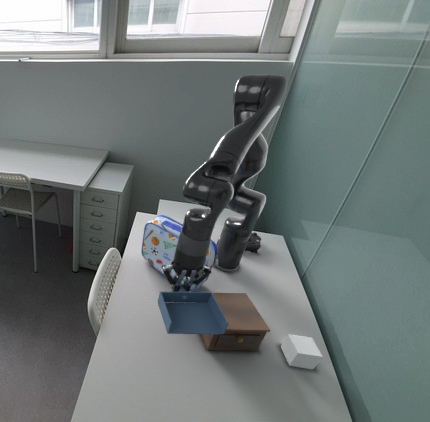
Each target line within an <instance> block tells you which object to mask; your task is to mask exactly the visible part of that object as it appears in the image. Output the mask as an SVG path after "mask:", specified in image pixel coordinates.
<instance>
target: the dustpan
mask: <svg viewBox="0 0 430 422" xmlns="http://www.w3.org/2000/svg"><path fill="white" fill-rule="evenodd" d="M171 275H172V277H173V278H174V275H175V271H172V273H171ZM213 293H214V292H212V291H190V292H186V290H185V288H184V286H183V283H182V281H181V283H180V289H179V292H173V291H159V293H158V298H157V305H158V308H159V312H160V314H161V318H162V320H163V324H164V327H165V331H166V333H167V335H201V334H224V333H225V331H226V328H227V326H228V324H229V323H228V321H227V319H226V317H225V316H224V314H223V312H222V310H221V308H220V306H219V304H218V302H217V301H216V299H215V297H214V295H213Z"/></svg>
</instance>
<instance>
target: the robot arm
mask: <svg viewBox="0 0 430 422" xmlns="http://www.w3.org/2000/svg"><path fill="white" fill-rule="evenodd" d="M288 85H289V80H288V78H287V76H285V75H283V74H268V73H266V74H265V73H264V74H263V73H261V74H260V73H259V74H258V73H253V74H251V73H250V74H244V75H241V76H239V78H238V79H237V81H236V83H235V84H234V88H233V93H232V121H233V124H232V125H233V127H232V128H231V129H229V130H228V131H227V132H225V133H224V134H222V136H221V137H220V138H219V139H218V140H217V142H216V144H215V145H214V147H213V149H212V151H211V152H210V154H209V156H208V157H207V158H206V160H205V161H204V162H203V163H201V165H200V166H199V167H198V168H197V169H196V170H194V172H192V173H191V174H190V175H189V176H188V177H187V178H186V180H185V182H184V183H183V186H182V196H183V198H184V200H185V201H188V202H190V203H192V204H196V205H200V206H203V207H205V208H201V207H198V208H197V207H195V208H189V209H188V210H187V211H186V213H185V215H184V218H183V221H182V222H183V223H182V224H183V226H182V230H181V233H180V235H179V238H178V243H177V247H176V251H175V255H174V260H173V261H172V262H171V265H168V266H166V265H162V269H163V272H164V274H165V276H166V277H165V276H164V277H165V278H166V279H167V282H168V284H169V285H172V286H171V291H172V292H179V289H180V283H181V281H183V279H184V277H186V278H185V280H186V281H184V284H183V286H184V288H185V290H186V292H191V290H190V288H191V286H192V285H193V284H196V285H198V284H199V283H201V282H202V281H203V280H204V279H205V278H206V277H207V276H208V275H209V274H210V275H211V274H212V270H210V268H209V266H208V265H203V264H204V261H205V258H206V255H207V252H208V249H209V245H210V240H212V239H211V238H212V235H213V233H214V232H213V231H214V228H215V225H216V223H217V221H218V219H219V218H220V215H221V214H222V213H223V211H224V210H225V209H226V208H228V209H229V210H230V211H232V212H234V213H237V214H238V215H241V216H235V215H234V216H229V217H227V218H226V219H225V220H224V223H223V227H222V230H221V232H220V236H219V238H217V242H216V245H217V247H218V254H217V256H218V265H217V266H216V265H215V266H214V267H215V268H216V269H219V270H221V271H224V272H228V273H233V272H236V271H237V270H238V269H239V266H240V264H241V260H242V258H243V256H244V253H245V252H246V251H245V248H246V246H247V243H248V241H249V238H250V236H251V233H253V231H254V229H255V226H256V225H257V222H258V219H259V217H260V215H261V213H262V212H263V210H264V207H265V204H266V202H267V196H266V195H265V194H264V193H262V192H259V191H256V190H253V189H250V188H248V187H246V186H245V183H246V182H247V181H249V180H250V179H252V178H254V177H255V176H257V175H258V174H259V173H260V172H261V171H262V170H263V169H264V168H265V167H266V163H267V157H268V153H269V145H268V143H267V140H266V138H265V136H264V135H263V133H262V132H263V130H264V129H266V127H267V125H268V124H269V123H270V122H271V120H272V119H273V118H274V116H275V115H276V114H277V112H278V111H279V109H280V108H281V107H282V104H283V102H284V100H285V98H286V95H287V91H288ZM252 113H253V114H252ZM223 178H229V181H228V180H225V179H223ZM172 269H173V270H174V271H175V275H174V278H173V277H171V275H170V274H171V272H172V271H171V270H172ZM210 275H209V276H210ZM198 277H199V278H198ZM197 278H198V279H197Z"/></svg>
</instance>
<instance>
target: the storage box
mask: <svg viewBox="0 0 430 422" xmlns="http://www.w3.org/2000/svg"><path fill="white" fill-rule="evenodd" d="M212 293H213V295H214V297H215V299H216V301H217V302H218V304H219V306H220V308H221V310H222V312H223V314H224V316H225V317H226V319H227V321H228V323H229V324H228V326H227V328H226V331H225V333H224V334H200V336H201V338H202V340H203V342H204V345H205V347H206V349H207V351H247V352H248V351H250V352H251V351H253V352H254V351H255V352H256V351H258V350H259V348H260V346H261V344H262V342H263V340H264V339H265V337H266V335H267V333H270V332H271V328H270V327H269V326H268V324H267V322H266V321H265V319H264V318H263V317H262V315H261V313H260V312H259V310H258V309H257V307H256V306H255V304H254V303H253V302H252V300H251V298H250V297H249V295H248V294H247V293H246V292H212Z"/></svg>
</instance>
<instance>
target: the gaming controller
mask: <svg viewBox="0 0 430 422" xmlns="http://www.w3.org/2000/svg"><path fill="white" fill-rule="evenodd" d="M261 241H262V238H261V236H260V235H258V233H257V232H255V231H254V232H252V233H251V236H250V238H249V241H248V243H247V246H246V248H245V251H244V252H250V253H252V254H258V251H259V250H260V249H261Z"/></svg>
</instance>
